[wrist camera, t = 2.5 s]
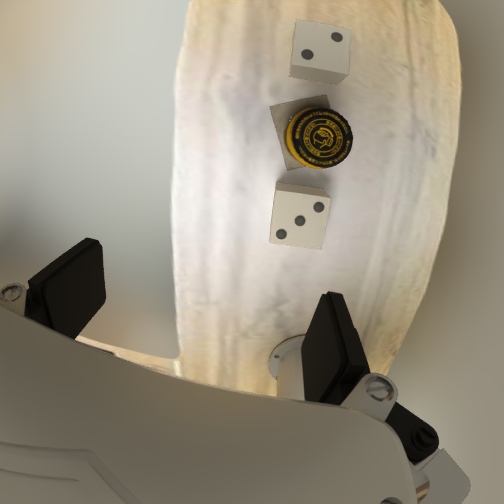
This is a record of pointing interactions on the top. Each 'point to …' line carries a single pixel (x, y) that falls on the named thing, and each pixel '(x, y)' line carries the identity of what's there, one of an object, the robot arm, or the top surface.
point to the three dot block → (299, 216)
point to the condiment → (311, 133)
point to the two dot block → (320, 52)
